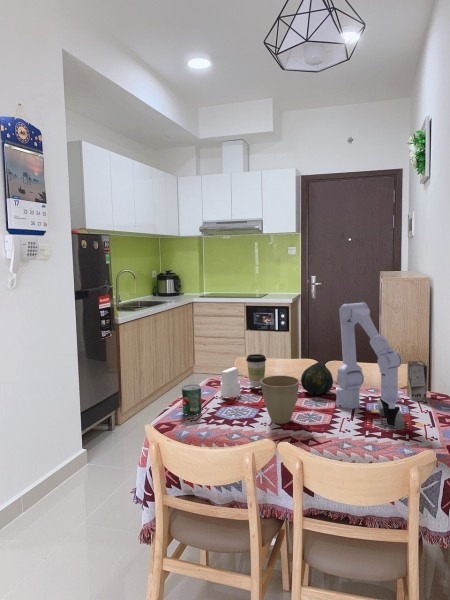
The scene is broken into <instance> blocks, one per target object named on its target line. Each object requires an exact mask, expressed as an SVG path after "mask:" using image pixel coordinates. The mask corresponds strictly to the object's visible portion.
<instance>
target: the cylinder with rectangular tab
mask: <svg viewBox="0 0 450 600" xmlns="http://www.w3.org/2000/svg"><path fill="white" fill-rule="evenodd" d="M221 395H222V396H224V397H236V398H238V397H237V396H239V395H240V396H241V381H240V380H239V371H238V367H234V366H233V367H230V368H227V369H225V370H223V371H221V381H220V396H221ZM222 396H221V397H222ZM240 396H239V397H240ZM224 397H223V398H224Z"/></svg>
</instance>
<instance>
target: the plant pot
mask: <svg viewBox="0 0 450 600" xmlns="http://www.w3.org/2000/svg"><path fill="white" fill-rule="evenodd" d="M260 382H261V393H262V396H263V401H264V404H265V407H266V410H267V413H268V415H269V419H270V420H271V422H272V423H274V424H279V425H284V424H288V423H289V422H291V420H292V417H293V414H294V412H295V408H296V404H297V401H298V400H297V399H298V395H299V386H300V379H299V378H297V377H295V376H290V375H281V374H279V375H270V376H266V377H265V376H264V378H263V379H261V381H260Z"/></svg>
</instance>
